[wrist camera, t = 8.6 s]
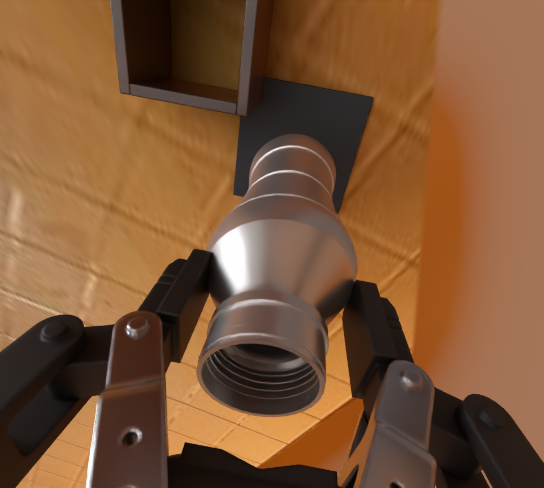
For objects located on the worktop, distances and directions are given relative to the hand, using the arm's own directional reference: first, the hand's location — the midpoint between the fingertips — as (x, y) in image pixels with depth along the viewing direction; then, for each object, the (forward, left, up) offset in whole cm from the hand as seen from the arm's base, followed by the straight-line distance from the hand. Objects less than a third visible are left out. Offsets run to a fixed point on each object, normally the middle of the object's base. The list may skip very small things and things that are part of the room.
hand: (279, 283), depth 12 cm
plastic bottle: (0, 0, -16) cm, 16 cm away
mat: (0, 0, -22) cm, 22 cm away
